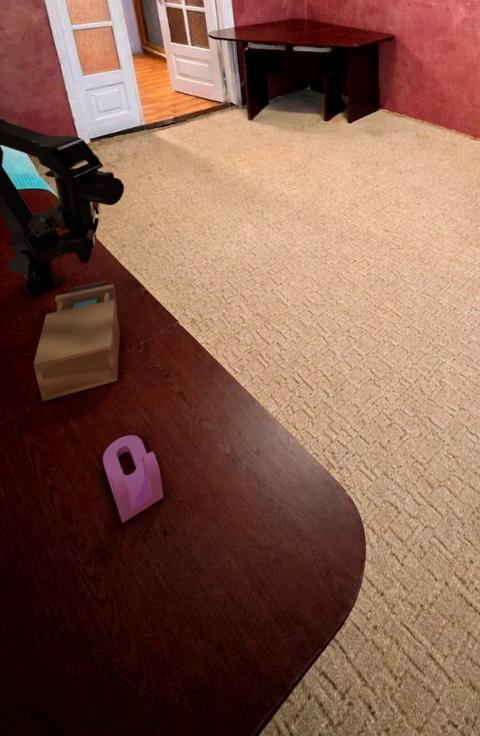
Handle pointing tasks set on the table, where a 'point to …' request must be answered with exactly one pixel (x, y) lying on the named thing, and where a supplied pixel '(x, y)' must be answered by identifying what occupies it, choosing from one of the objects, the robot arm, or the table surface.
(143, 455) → the bracket
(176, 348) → the table surface
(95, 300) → the block
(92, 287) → the drawer
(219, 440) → the table surface
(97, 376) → the cabinet
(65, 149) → the robot arm
